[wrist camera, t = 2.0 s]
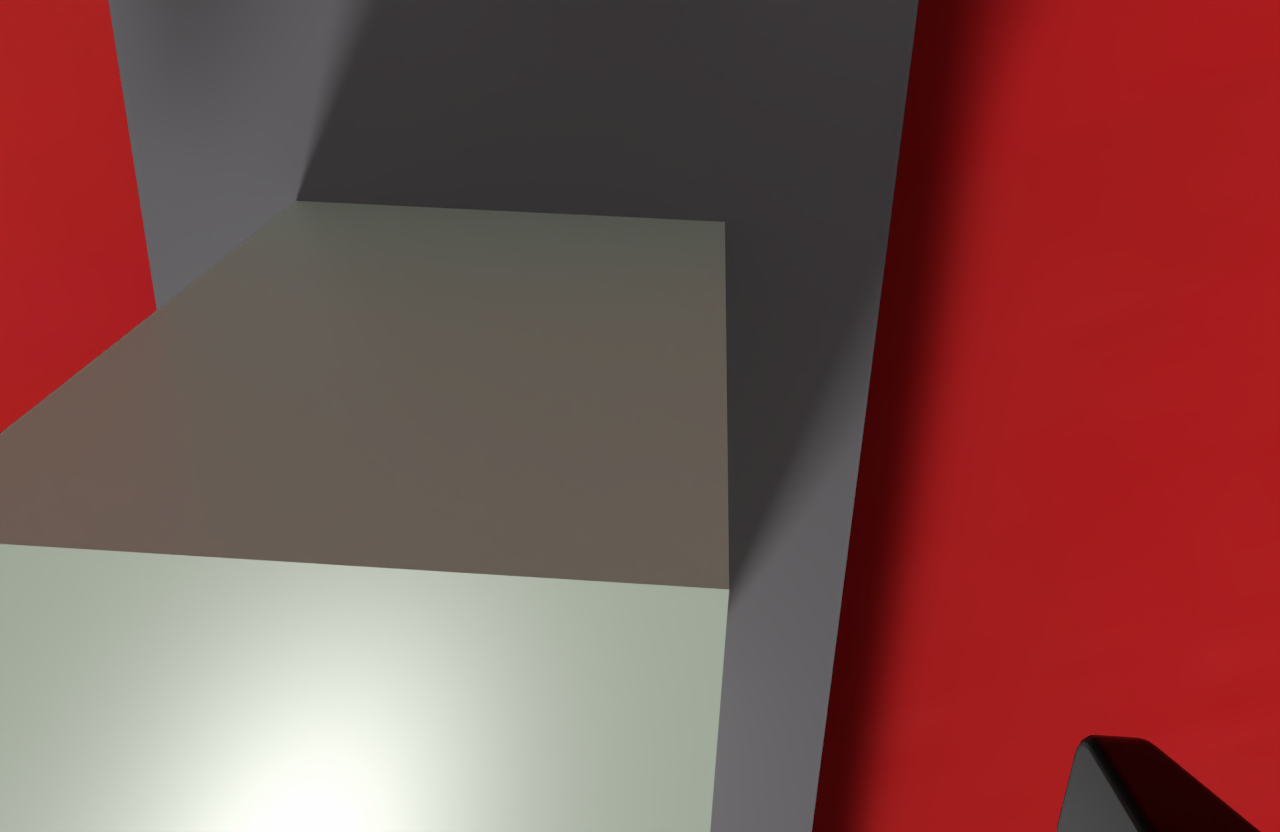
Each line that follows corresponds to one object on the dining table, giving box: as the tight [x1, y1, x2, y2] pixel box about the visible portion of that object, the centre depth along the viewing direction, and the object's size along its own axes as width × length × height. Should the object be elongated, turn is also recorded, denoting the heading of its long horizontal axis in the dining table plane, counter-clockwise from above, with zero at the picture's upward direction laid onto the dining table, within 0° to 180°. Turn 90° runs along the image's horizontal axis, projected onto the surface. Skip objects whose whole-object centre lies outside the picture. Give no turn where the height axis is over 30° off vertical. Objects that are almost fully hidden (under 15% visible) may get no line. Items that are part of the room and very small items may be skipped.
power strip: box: [109, 0, 919, 832], centre depth 15 cm, size 7×22×4 cm, turn 178°
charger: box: [0, 201, 729, 832], centre depth 10 cm, size 4×5×8 cm
